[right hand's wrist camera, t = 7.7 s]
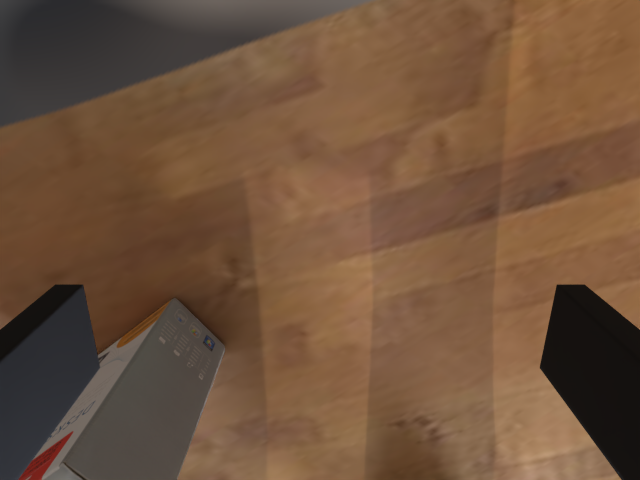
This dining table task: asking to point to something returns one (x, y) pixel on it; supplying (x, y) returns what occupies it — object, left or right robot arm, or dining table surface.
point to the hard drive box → (137, 404)
